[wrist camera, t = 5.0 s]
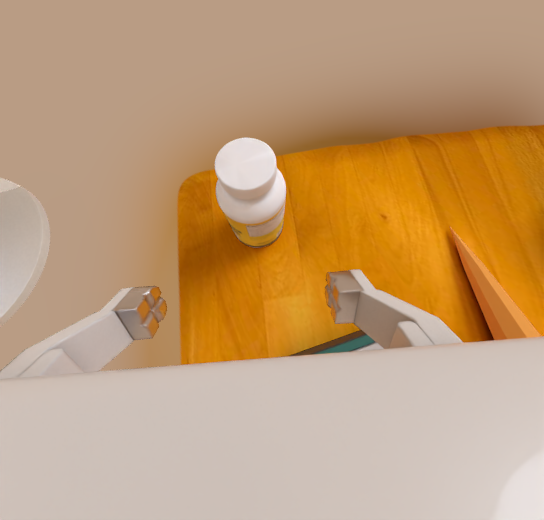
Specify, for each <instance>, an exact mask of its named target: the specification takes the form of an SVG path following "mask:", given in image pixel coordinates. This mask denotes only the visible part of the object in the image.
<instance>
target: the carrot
mask: <svg viewBox="0 0 544 520" xmlns="http://www.w3.org/2000/svg"><path fill="white" fill-rule="evenodd" d="M449 227H450V226H449ZM450 230H451V232H452V235H453V238H454V241H455V244H456V247H457V249H458V252H459V255H460V258H461V261H462V264H463V267H464V269H465V272H466V274H467V277H468V279H469V281H470V284H471V286H472V288H473V291H474V293H475V296H476V298H477V300H478V303H479V305H480V307H481V310H482V312H483V315H484V317H485V319H486V322H487V324H488V326H489V329H490V331H491V333H492V336H493V338H494V340H504V339H517V338H530V337H542V336H541V335H540V334H539V333H538V331H537V330H536V329H535V328H534V326H533V325H532V324H531V323H530V321H529V320H528V319H527V318H526V316H525V315H524V314H523V313H522V311H521V310H520V309H519V308H518V306H517V305H516V304H515V303H514V301H513V300H512V299H511V298H510V296H509V295H508V294H507V293H506V291H505V290H504V289H503V288H502V286H501V285H500V284H499V283H498V282H497V280H496V279H495V278H494V277H493V275H492V274H491V273H490V272H489V270H488V269H487V268H486V267H485V265H484V264H483V263H482V262H481V261H480V260H479V258H478V257H477V256H476V255H475V254H474V253H473V252H472V251H471V250H470V248H469V247H468V246H467V245H466V244H465V243H464V242H463V241H462V239H461V238H460V237H459V236H458V235H457V234H456V233H455V232H454V231H453V229H452V228H451V227H450Z"/></svg>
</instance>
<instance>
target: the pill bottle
mask: <svg viewBox="0 0 544 520" xmlns="http://www.w3.org/2000/svg"><path fill="white" fill-rule="evenodd" d="M215 172H216V175H217V177H218V181H217V185H216V197H217V201H218V203H219V205H220V207H221V209H222V211H223V213H224V215H225V216H226V218H227V220H228V222H229V224H230V226H231V228H232V229H233V231H234V233H235V235H236V237H237V238H238V239H239V240H240V241H241V242H242V243H243V244H245V245H247V246H250V247H254V248H261V247H265V246H268V245H270V244H272V243H273V242H275V241H276V240H277V238H278V237H279V236H280V234H281V232H282V228H283V219H284V208H285V199H286V185H285V181H284V178H283V176H282V174H281V172H280V171H279V170H278V168H277V167H276V157H275V155H274V153H273V151H272V149H271V148H270V147H269V146H268V145H267V144H266V143H264V142H262V141H260V140H257V139H253V138H240V139H236V140H233V141H231V142H229V143H227V144H226V145H225V146H224V147H223V148H222V149H221V150H220V151H219V153H218V155H217V157H216V160H215Z"/></svg>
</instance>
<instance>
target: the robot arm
mask: <svg viewBox="0 0 544 520" xmlns="http://www.w3.org/2000/svg"><path fill="white" fill-rule="evenodd" d="M326 281H327V283H328V284H327V286H326V287H325V298H326V302H327V305H328V306H329V307H330V308H331V315H332V317H333V320H334V322H335V324H340V323H354V324H355V325H356V326H357V327H359V328H360V329H361V330H362V331H363V332H365V333H366V334H367V335H368V336H369V337H371V338H372V339H373V340H374V341H375V342H377V343H378V344H379V345H380V346H381V347H383V348H384V349H377V350H364V351H352V352H339V353H327V354H314V355H301V356H288V357H275V358H263V359H250V360H237V361H224V362H212V363H199V364H186V365H174V366H162V367H149V368H136V369H123V370H110V371H100V370H101V369H102V368H103V367H105V366H106V365H107V364H108V363H109V362H110V361H111V360H113V359H114V358H115V357H116V356H117V355H118V354H120V353H121V352H122V351H123V350H124V349H125V348H126V347H128V346H129V345H130V344H131V343H132V342H133V340H141V339H150V338H153V336H154V335H155V333H156V331H157V329H158V328H159V324H158V323H159V322H160V321H161V320H163V319H164V317H165V315H166V311H167V306H166V302H165V300H164V299H163V298H161V297H160V295H161V291H160V289H159V287H156V286H148V287H132V288H123V289H121V290H120V291H119V292H118V293H117V294H116V295H115V296H114V297H113V298H112V299H111V300H110V301H109V302H108V303H107V304H106V305H105V306H104V307H103V308H102V309H101V310H100V311H99V312H96V313H93V314H91V315H89V316H87V317H86V318H84V319H82V320H80V321H78V322H76V323H74V324H72V325H71V326H69V327H67V328H65V329H63V330H61V331H59V332H57V333H56V334H54V335H52V336H50V337H48V338H46V339H44V340H42V341H41V342H39V343H37V344H35V345H33V346H31V347H29V348H27V349H26V350H24V351H23V352H21V353H20V354H19V355H18V356H17V357H15V358H14V359H13V360H12V361H11V362H10V363H9V364H7V365H6V366H5V367H4V368H3V369H2V370H0V520H544V336H542V337H530V338H517V339H504V340H491V341H479V342H466V343H463V342H462V341H461V340H460V339H459V338H458V337H457V336H456V335H455V334H454V333H453V332H452V331H451V330H450V329H449V328H448V327H447V326H446V325H445V324H444V323H443V322H442V321H441V320H440V319H439V318H438V317H436V316H434V315H432V314H429V313H427V312H425V311H423V310H421V309H419V308H417V307H415V306H413V305H411V304H408V303H406V302H404V301H402V300H400V299H398V298H396V297H394V296H392V295H390V294H387V293H385V292H383V291H381V290H376V289H375V288H374V287H373V285H372V284H371V283H370V281H369V280H368V279H367V278H366V276H365V275H364V274H363V272H362V271H361V270H359V269H355V270H348V271H338V272H327V274H326Z"/></svg>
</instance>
